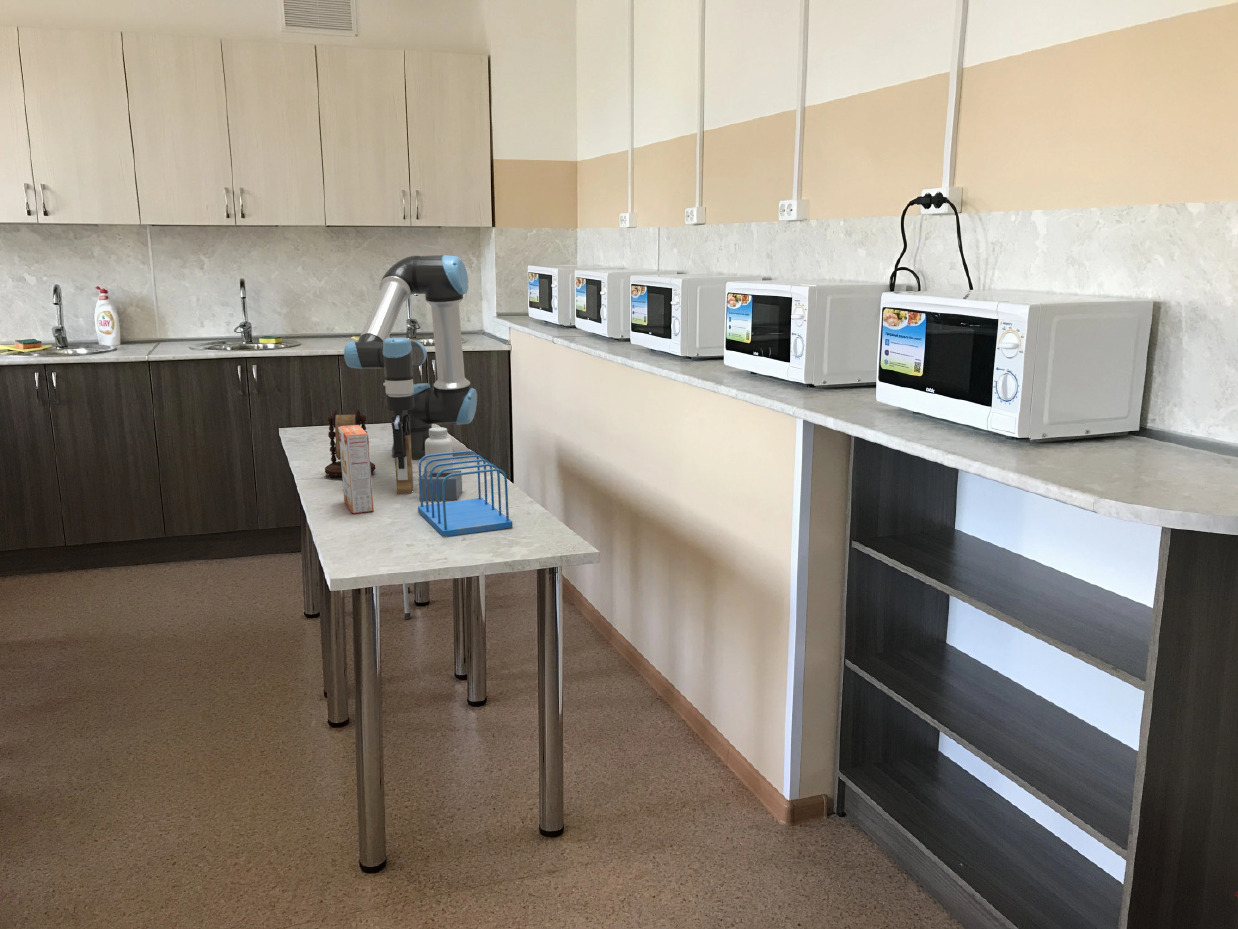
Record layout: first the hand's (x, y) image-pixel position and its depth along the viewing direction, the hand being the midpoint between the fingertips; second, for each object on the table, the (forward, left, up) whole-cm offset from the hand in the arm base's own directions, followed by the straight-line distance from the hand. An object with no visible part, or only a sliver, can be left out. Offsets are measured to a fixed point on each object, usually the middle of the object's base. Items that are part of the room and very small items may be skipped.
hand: (404, 477), depth 275 cm
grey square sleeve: (+5, +11, -4) cm, 13 cm away
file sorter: (+29, +21, -4) cm, 36 cm away
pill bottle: (-16, +7, -4) cm, 18 cm away
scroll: (-22, -21, -4) cm, 31 cm away
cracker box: (+16, -9, -4) cm, 19 cm away
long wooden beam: (0, 0, -4) cm, 4 cm away
